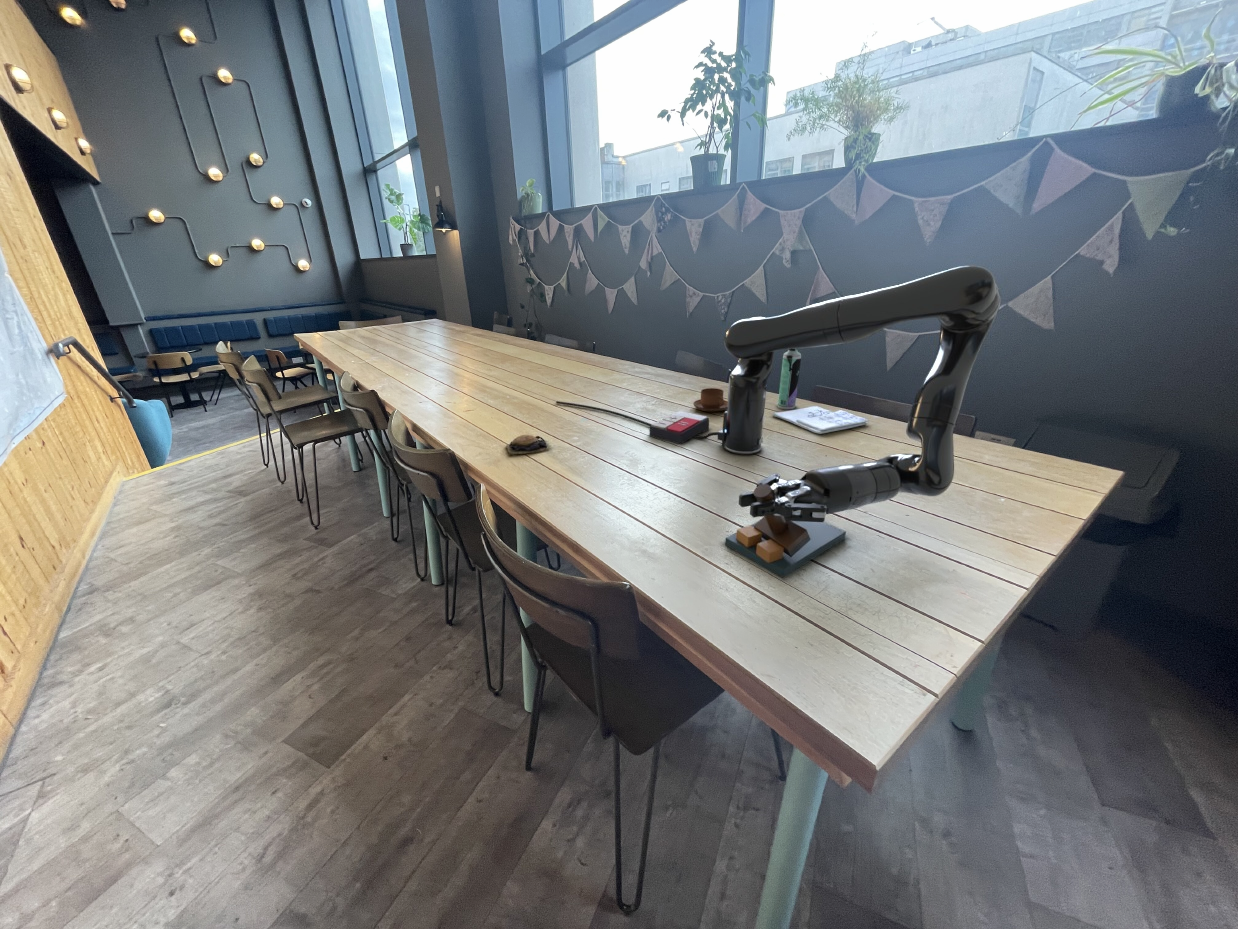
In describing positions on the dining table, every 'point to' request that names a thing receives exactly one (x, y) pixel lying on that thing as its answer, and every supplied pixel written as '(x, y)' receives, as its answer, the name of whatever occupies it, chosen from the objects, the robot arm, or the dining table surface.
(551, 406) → the dining table surface
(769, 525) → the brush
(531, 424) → the dining table surface
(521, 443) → the brown domed lump
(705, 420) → the red-topped box
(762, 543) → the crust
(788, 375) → the spray can
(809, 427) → the folded bicycle print cloth
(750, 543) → the brown wooden block
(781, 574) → the tray
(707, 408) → the cup and saucer
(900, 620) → the dining table surface
